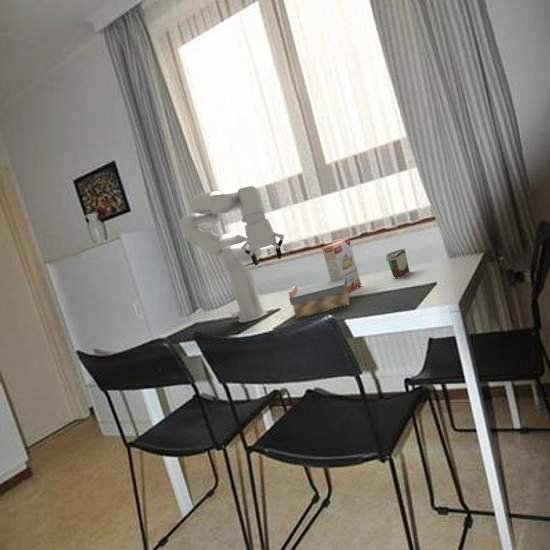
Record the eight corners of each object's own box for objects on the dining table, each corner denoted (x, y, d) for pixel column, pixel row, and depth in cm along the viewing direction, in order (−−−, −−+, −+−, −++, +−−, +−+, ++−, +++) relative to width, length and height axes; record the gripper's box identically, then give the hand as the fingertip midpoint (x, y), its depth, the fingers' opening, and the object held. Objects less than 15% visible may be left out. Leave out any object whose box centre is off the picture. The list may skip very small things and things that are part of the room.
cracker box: (347, 295, 186) (333, 245, 183) (334, 297, 190) (320, 248, 187) (362, 285, 196) (349, 237, 194) (350, 287, 200) (337, 240, 198)
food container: (397, 273, 201) (391, 251, 199) (410, 271, 197) (404, 248, 196) (386, 281, 191) (380, 257, 190) (400, 278, 187) (394, 255, 186)
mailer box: (296, 317, 173) (291, 300, 172) (301, 309, 185) (296, 292, 184) (349, 305, 168) (343, 286, 167) (350, 297, 181) (345, 280, 180)
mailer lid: (291, 305, 171) (287, 293, 171) (297, 296, 186) (293, 285, 185) (345, 291, 167) (342, 279, 166) (347, 283, 181) (344, 272, 180)
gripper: (231, 225, 174) (244, 269, 176) (275, 212, 170) (288, 257, 172) (236, 224, 181) (249, 266, 183) (278, 211, 178) (291, 254, 180)
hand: (268, 261), depth 178 cm, fingers open, 9 cm apart
